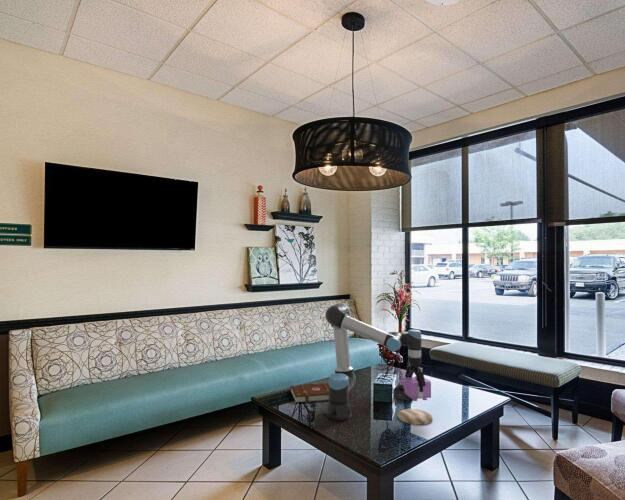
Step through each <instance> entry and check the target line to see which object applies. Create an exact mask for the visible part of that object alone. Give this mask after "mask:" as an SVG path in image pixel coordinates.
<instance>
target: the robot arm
mask: <svg viewBox="0 0 625 500" xmlns="http://www.w3.org/2000/svg"><path fill="white" fill-rule="evenodd" d="M350 315H351V311H350V308H349V307H348V306H347V305H345V304H344V303H336V304H334V305H332V306H329V307H328V308H327V310H326V311H325V319H326V321H327V323H329V324H330V327H331V328H332V329H333V338H334V348H335V351H334V352H335V359H336V367H335V368H334V373H333V374H331V375H330V376H329V378H328V383H329V400H328V403H327V407H326V410H325V416H326V418H327V419H329V420H332V421H336V422H338V421H347V420H349V419H352V418H351V417H352V410H351V406H350V404H349V391H351V389H352V388H353V387H354V386H355V384H356V380H357V378H356V377H357V376H356V374H355V372H354V367H353V366H351V358H350V349H349V348H350V346H349V334H348V331H349V332H352V333H354V334H356V335H359V336H360V337H363V338H366V339H367V340H369V341H370V340H371V341H373V342H374V343H377V344H380V345H381V346H384V347H386V348H387V350H389V352H390V351H391V352H396V351H398V350H400V349H401V347H402V346H404V347H408V350H407V351H408V352H407V354H408V355H407V356H408V357H407V360H408V362H407V363H406V369H405V370H406V371H405V374H404V378H407V377H414V375H415V376H416V377H417V381H418V384H419V386H418V398H420V399H422V398H421V397H423V386H426V385H425V379H424V378H425V375H424V368H423V367H421V366H420V365H421V364H422V339H423V338H422V332H421V330H419V329H412V328H411V329H409V330H408V331H407V332H398V331H389V332H386V331H385V330H382V329H380V328H376V327H374V326H372V325H371V324H370V325H369V324H367V323H365V322H363V321H360V320H359V319H356V318H354V317H351V316H350Z"/></svg>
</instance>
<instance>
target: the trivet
mask: <svg viewBox="0 0 625 500" xmlns="http://www.w3.org/2000/svg"><path fill="white" fill-rule="evenodd" d="M397 418H398V419H399V421H400V422H403V423H405V424H408V425H411V426H427V425H429V424H431V423H432V422H433V416H432V414H431V413H429V412H427V411H425V410H421V409H416V408H405V409H401V410H399V411H398V412H397Z"/></svg>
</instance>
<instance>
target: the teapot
mask: <svg viewBox="0 0 625 500" xmlns="http://www.w3.org/2000/svg"><path fill="white" fill-rule="evenodd" d="M424 379H425V385H426V386H423V397H421V398H418V386H419V384H418V381H417V377H416V375H415V376H412V377H407V378H406V377H404V379H399V380H398V381H399V382H400V383H403V387H404V393H405V394H406V395H408V397H410V398H411V399H413V401H414V402H418V399H421V400H422V401H427V400H428V399H429V398H430V399H431V398H432V382H431V380H429V379H427V378H425V377H424Z"/></svg>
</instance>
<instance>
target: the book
mask: <svg viewBox="0 0 625 500" xmlns="http://www.w3.org/2000/svg"><path fill="white" fill-rule="evenodd" d="M289 388H290V394H291V396H292V397H293V400H294V403H295V404H297V403H309V402H322V401H329V382H327V383H314V384H313V383H312V384H299V385H290V387H289Z"/></svg>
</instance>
